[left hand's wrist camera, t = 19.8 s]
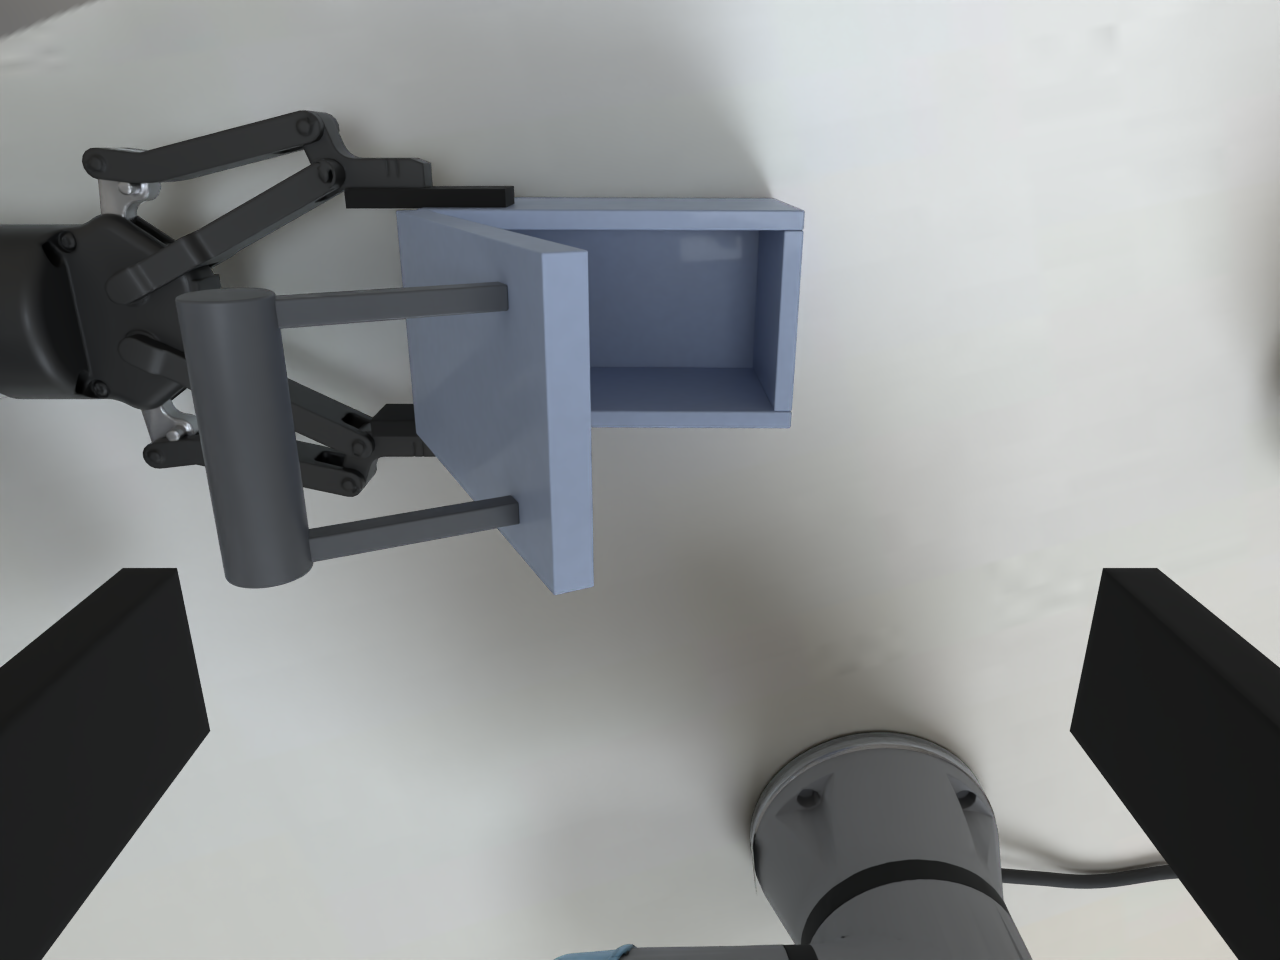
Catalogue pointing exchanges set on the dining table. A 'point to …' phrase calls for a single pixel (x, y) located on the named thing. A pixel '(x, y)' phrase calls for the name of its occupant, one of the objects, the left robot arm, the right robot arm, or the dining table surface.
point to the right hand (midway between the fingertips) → (515, 313)
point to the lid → (443, 402)
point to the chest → (679, 303)
